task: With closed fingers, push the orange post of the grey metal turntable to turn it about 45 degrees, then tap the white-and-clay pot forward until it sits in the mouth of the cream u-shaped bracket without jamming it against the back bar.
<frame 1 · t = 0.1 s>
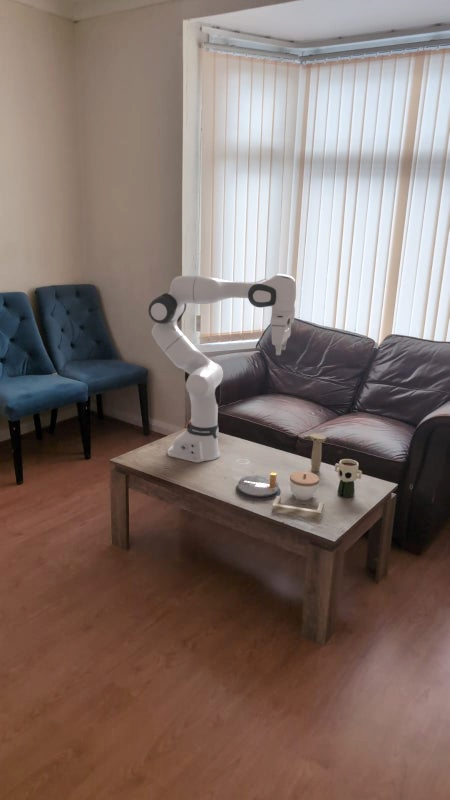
hand: (280, 352, 242), 48 cm above the table, fingers open, 8 cm apart
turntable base: (257, 490, 232), on the table
lidded jar: (303, 496, 229), on the table
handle: (315, 471, 252), on the table
cream u-shaped bracket: (296, 514, 215), on the table
turntable: (258, 480, 231), point 4 cm above the table, hinge at 0.0°
character mug: (345, 495, 232), on the table
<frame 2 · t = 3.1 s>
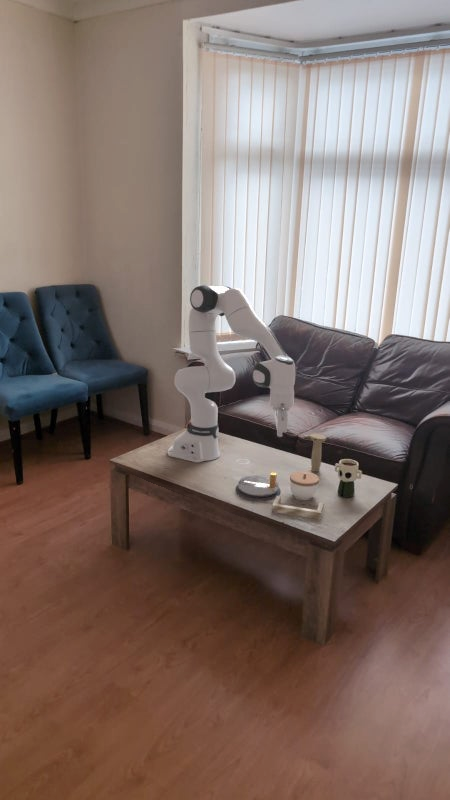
hand: (279, 435, 231), 20 cm above the table, fingers closed
nothing on the table moved.
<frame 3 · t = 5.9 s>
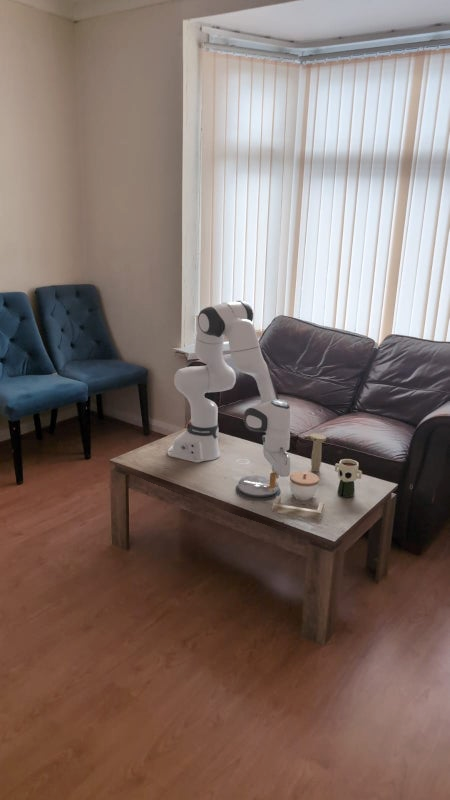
hand: (275, 477, 232), 5 cm above the table, fingers closed
turntable: (258, 480, 231), point 4 cm above the table, hinge at -0.7°, touching gripper
everything else where it was.
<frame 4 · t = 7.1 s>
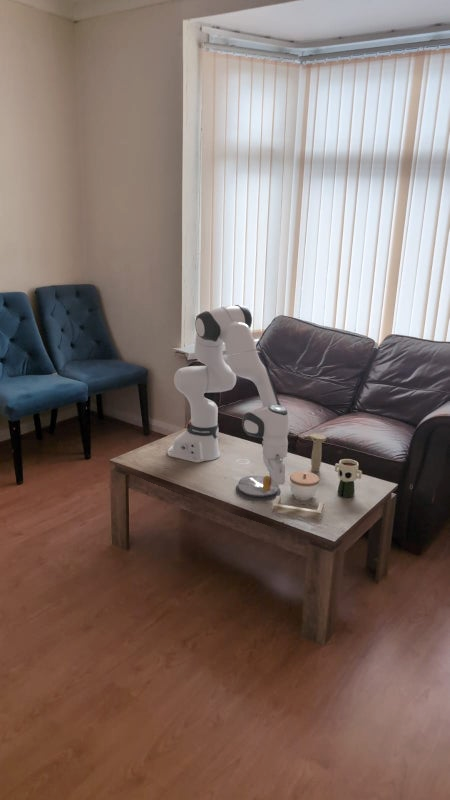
hand: (272, 484, 226), 5 cm above the table, fingers closed, pressing on turntable
turntable: (258, 480, 231), point 4 cm above the table, hinge at -43.7°, touching gripper
everything else where it was.
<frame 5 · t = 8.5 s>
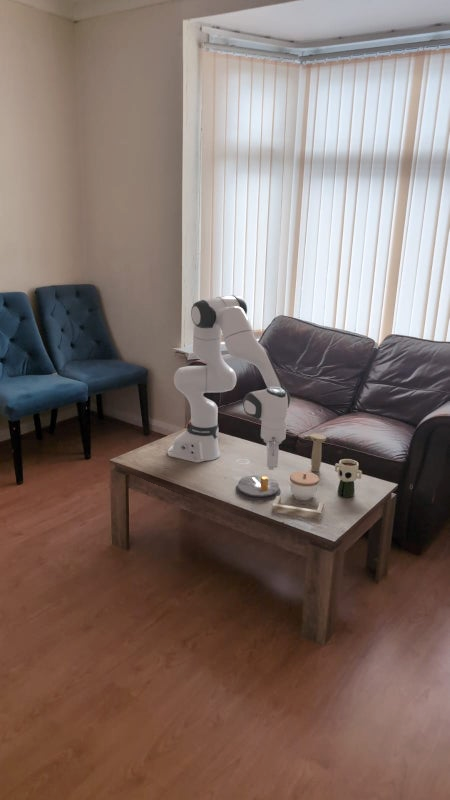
hand: (270, 468, 222), 12 cm above the table, fingers closed
turntable: (258, 480, 231), point 4 cm above the table, hinge at -55.1°
everything else where it was.
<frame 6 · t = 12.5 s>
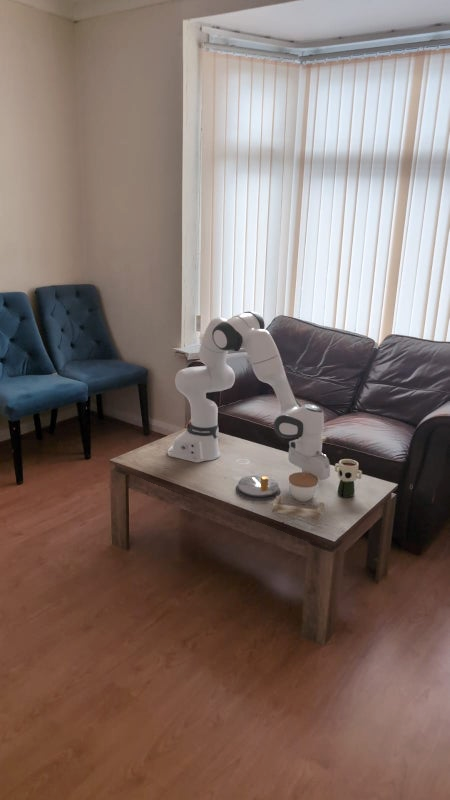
hand: (307, 481, 234), 3 cm above the table, fingers closed
lidded jar: (302, 497, 228), on the table, touching gripper
everything else where it was.
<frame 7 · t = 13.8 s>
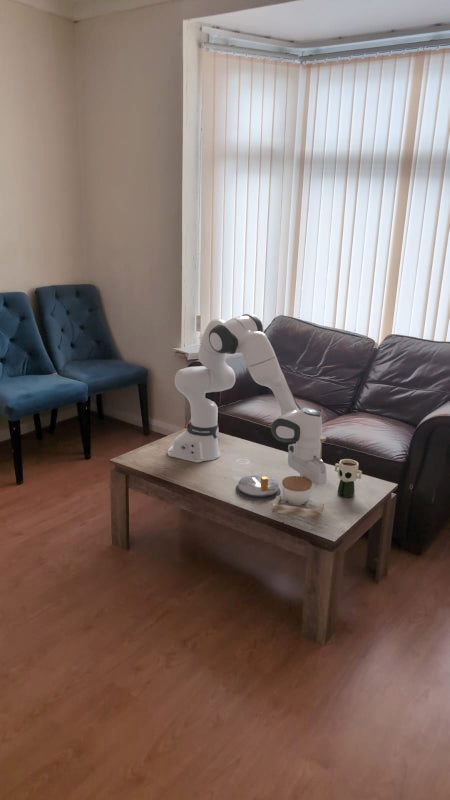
hand: (305, 486, 230), 3 cm above the table, fingers closed
lidded jar: (295, 501, 225), on the table, touching gripper
everything else where it was.
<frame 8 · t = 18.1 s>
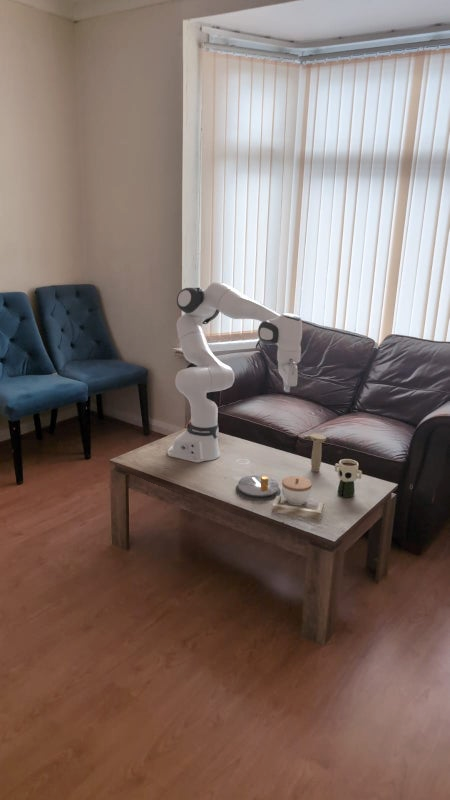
hand: (286, 391, 239), 34 cm above the table, fingers closed
lidded jar: (295, 501, 225), on the table
everything else where it was.
at the end: turntable at -55° (first picture: +0°); lidded jar inside the target area (2.9 cm from its centre), on the table; lidded jar tilted 0° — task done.
